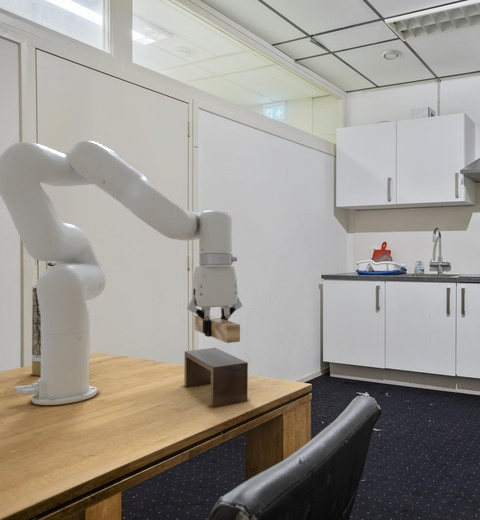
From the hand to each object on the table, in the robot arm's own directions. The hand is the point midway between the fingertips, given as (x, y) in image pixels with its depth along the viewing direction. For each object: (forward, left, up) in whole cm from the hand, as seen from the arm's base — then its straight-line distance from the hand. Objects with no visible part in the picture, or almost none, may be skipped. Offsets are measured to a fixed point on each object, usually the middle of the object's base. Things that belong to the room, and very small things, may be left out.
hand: (215, 334), depth 115 cm
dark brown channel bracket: (0, 0, -15) cm, 15 cm away
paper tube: (-31, +47, -15) cm, 58 cm away
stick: (0, 0, 0) cm, 0 cm away
